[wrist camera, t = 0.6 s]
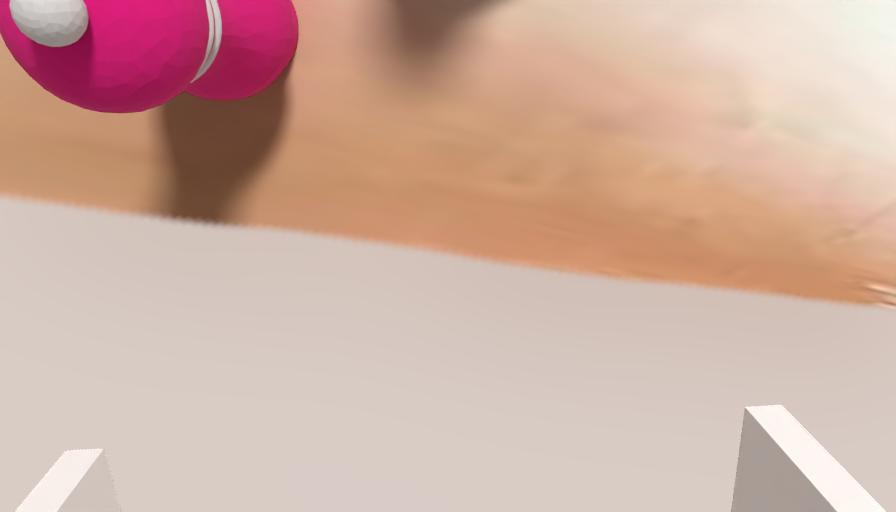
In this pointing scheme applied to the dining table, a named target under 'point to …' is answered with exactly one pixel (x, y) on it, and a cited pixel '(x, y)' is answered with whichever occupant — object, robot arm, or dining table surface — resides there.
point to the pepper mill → (149, 48)
